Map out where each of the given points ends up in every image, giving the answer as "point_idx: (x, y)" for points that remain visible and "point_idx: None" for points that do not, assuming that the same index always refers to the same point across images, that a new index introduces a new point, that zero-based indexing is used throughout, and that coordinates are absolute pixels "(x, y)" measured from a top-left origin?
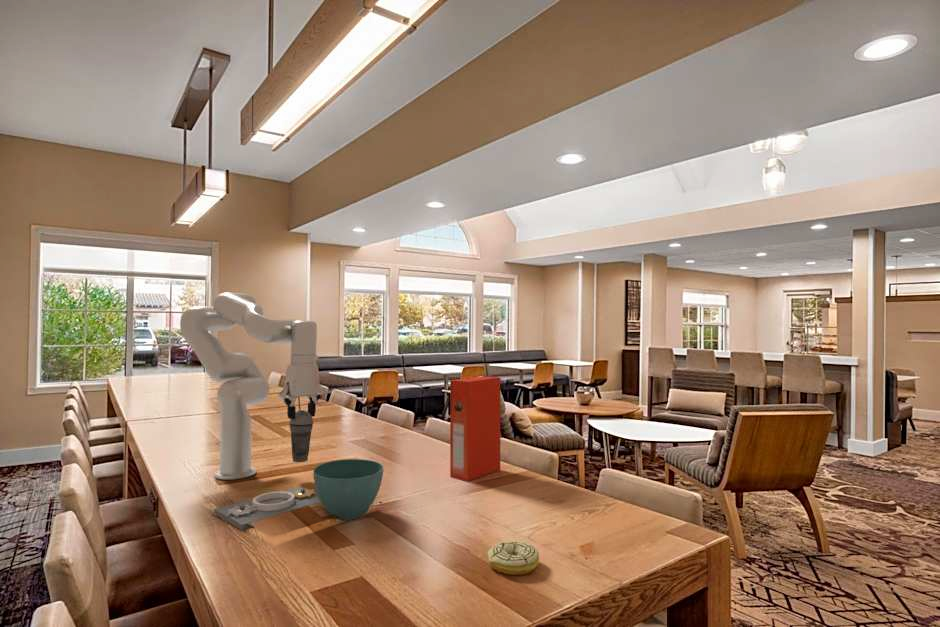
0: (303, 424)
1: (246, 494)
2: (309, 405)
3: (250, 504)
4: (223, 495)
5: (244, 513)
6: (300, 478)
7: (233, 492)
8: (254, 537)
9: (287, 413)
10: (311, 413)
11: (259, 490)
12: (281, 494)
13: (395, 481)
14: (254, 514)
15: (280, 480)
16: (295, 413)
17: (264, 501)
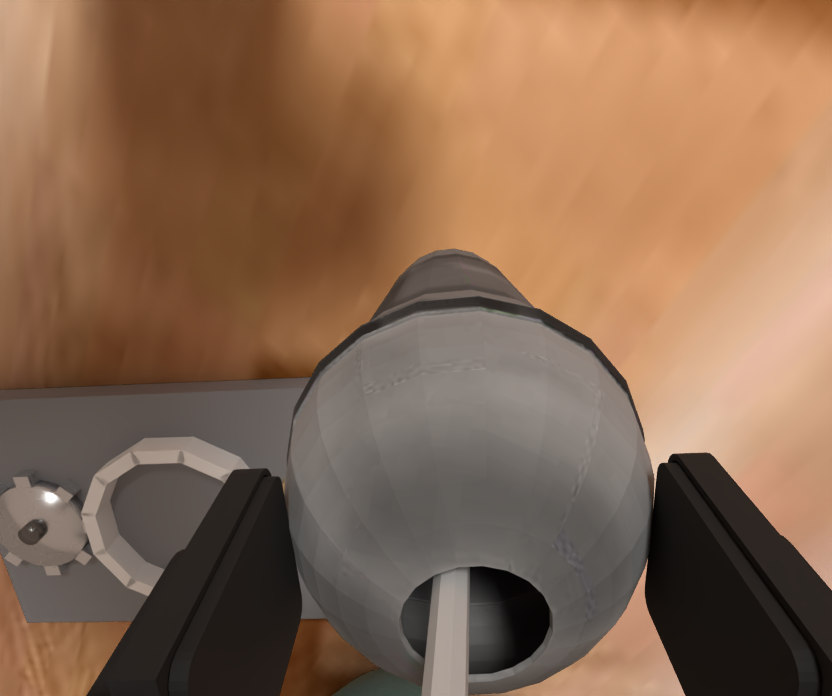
0: (412, 607)
1: (147, 219)
2: (755, 684)
3: (96, 460)
4: (34, 142)
5: (42, 563)
6: (516, 150)
7: (92, 128)
8: (68, 668)
9: (164, 576)
10: (665, 603)
11: (226, 202)
12: None
13: (824, 563)
14: (85, 569)
15: (400, 95)
16: (337, 587)
17: (160, 466)
